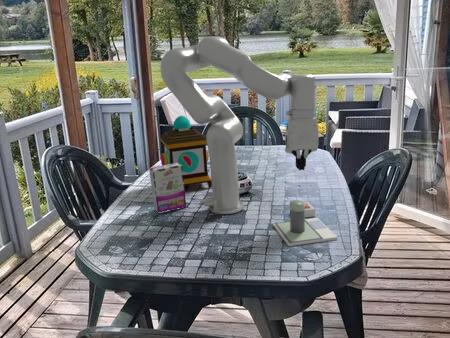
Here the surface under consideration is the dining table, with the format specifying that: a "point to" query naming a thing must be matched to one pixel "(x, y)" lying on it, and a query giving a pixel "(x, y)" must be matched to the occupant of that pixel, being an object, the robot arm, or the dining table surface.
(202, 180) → the decorative lantern
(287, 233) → the picture board
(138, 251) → the dining table surface
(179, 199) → the candy bar box
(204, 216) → the dining table surface
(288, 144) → the robot arm
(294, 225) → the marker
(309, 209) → the button housing
